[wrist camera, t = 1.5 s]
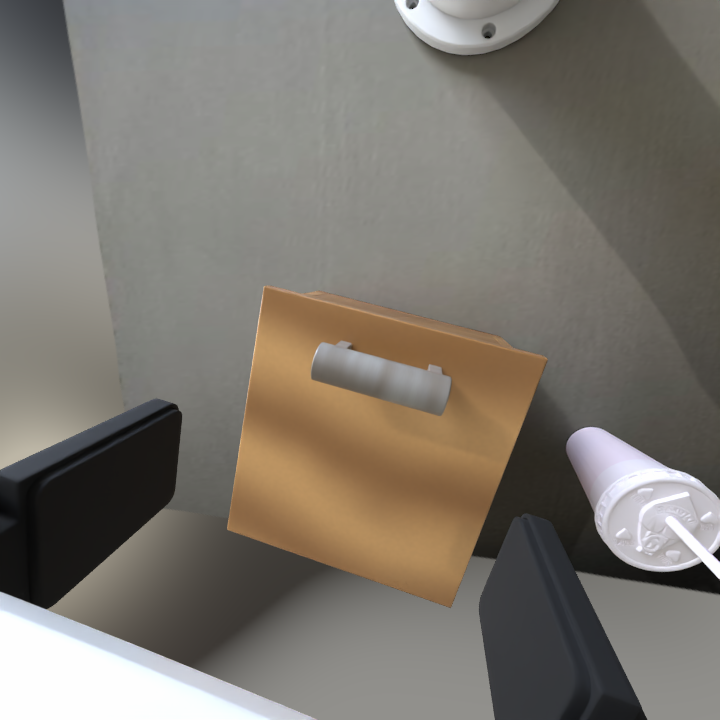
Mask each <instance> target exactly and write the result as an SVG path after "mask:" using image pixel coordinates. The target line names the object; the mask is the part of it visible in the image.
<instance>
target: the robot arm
mask: <svg viewBox="0 0 720 720" xmlns="http://www.w3.org/2000/svg"><path fill="white" fill-rule="evenodd" d="M394 2H395V5H396V8H397V10H398V11H399V13H400V15H401V16H402V18H403V20H404V21H405V23H406V25H407V26H408V27H409V28H410V29H411V30H412V31H413V32H414V33H415V34H416V36H417V37H419V38H420V39H421V40H423V41H424V42H426V43H427V44H429V45H430V46H432V47H434V48H437V49H439V50H442V51H444V52H447V53H452V54H459V55H474V54H484V53H487V52H491V51H494V50H497V49H501V48H503V47H505V46H507V45H509V44H511V43H513V42H515V41H517V40H519V39H520V38H522V37H523V36H524V35H526V34H527V33H528V32H530V31H531V30H532V29H534V28H535V27H536V26H537V25H538V24H539V23H540V22H541V21H542V20H543V19H544V18H545V17H546V16H547V15H548V14H549V13H550V12H551V11H552V10H553V9H554V7H555V6H556V4H557V3H558V2H559V0H394ZM412 7H415V8H414V9H411V8H412ZM485 36H490V38H489V39H486V38H484V37H485ZM181 423H182V413H181V412H180V411H179V409H178V406H177V405H176V404H173V403H170V402H167V401H164V400H160V399H153V400H150V401H148V402H146V403H144V404H142V405H140V406H137V407H135V408H133V409H131V410H129V411H127V412H124V413H122V414H120V415H118V416H116V417H114V418H112V419H109V420H107V421H105V422H103V423H101V424H98V425H96V426H94V427H92V428H90V429H88V430H85V431H83V432H81V433H79V434H77V435H75V436H73V437H70V438H68V439H66V440H64V441H62V442H59V443H57V444H55V445H53V446H51V447H49V448H46V449H44V450H42V451H40V452H38V453H36V454H33V455H31V456H29V457H27V458H25V459H23V460H21V461H18V462H16V463H14V464H12V465H10V466H8V467H5V468H3V469H1V470H0V720H317V719H315V718H313V717H310V716H308V715H305V714H303V713H301V712H298V711H296V710H293V709H290V708H288V707H286V706H283V705H281V704H279V703H276V702H274V701H271V700H269V699H266V698H264V697H261V696H259V695H256V694H254V693H252V692H249V691H247V690H244V689H242V688H239V687H237V686H234V685H232V684H229V683H227V682H225V681H222V680H220V679H217V678H215V677H212V676H210V675H208V674H205V673H203V672H200V671H198V670H195V669H193V668H190V667H188V666H185V665H183V664H181V663H178V662H175V661H173V660H171V659H168V658H166V657H163V656H161V655H158V654H156V653H153V652H151V651H148V650H146V649H143V648H141V647H139V646H136V645H134V644H131V643H129V642H126V641H123V640H121V639H119V638H116V637H114V636H111V635H109V634H106V633H104V632H101V631H98V630H96V629H94V628H91V627H89V626H86V625H84V624H81V623H79V622H76V621H74V620H71V619H69V618H66V617H64V616H61V615H58V614H56V613H54V612H51V611H48V610H46V609H48V608H50V607H51V606H53V605H54V604H56V603H57V602H58V601H59V600H60V599H61V598H62V597H64V595H66V594H67V593H68V592H69V591H70V590H71V589H72V588H74V587H75V586H76V585H77V584H78V583H79V582H80V581H82V580H83V579H84V578H85V577H86V576H87V575H88V574H89V573H90V572H92V571H93V570H94V569H95V568H96V567H97V566H98V565H99V564H101V563H102V562H103V561H104V560H105V559H106V558H107V557H109V556H110V555H111V554H112V553H113V552H114V551H115V550H116V549H118V548H119V547H120V546H121V545H122V544H123V543H124V542H125V541H127V540H128V539H129V538H130V537H131V536H132V535H133V534H134V533H136V532H137V531H138V530H139V529H140V528H141V527H142V526H143V525H144V524H146V523H147V522H148V521H149V520H150V519H151V518H152V517H154V516H155V515H156V514H157V513H158V512H159V511H160V510H162V509H163V508H164V507H165V506H166V505H167V504H168V503H169V502H170V500H171V499H172V497H173V495H174V492H175V485H176V474H177V464H178V454H179V444H180V434H181ZM479 615H480V622H481V629H482V635H483V642H484V649H485V655H486V662H487V669H488V676H489V683H490V689H491V696H492V702H493V709H494V716H495V720H647V718H646V716H645V714H644V712H643V710H642V707H641V705H640V703H639V700H638V698H637V696H636V695H635V692H634V690H633V688H632V686H631V684H630V682H629V680H628V678H627V676H626V674H625V672H624V670H623V668H622V666H621V664H620V662H619V660H618V658H617V656H616V654H615V652H614V650H613V648H612V646H611V644H610V641H609V639H608V637H607V636H606V633H605V631H604V629H603V627H602V625H601V623H600V621H599V619H598V617H597V615H596V613H595V611H594V609H593V607H592V605H591V603H590V601H589V598H588V597H587V594H586V592H585V590H584V588H583V586H582V584H581V582H580V580H579V578H578V576H577V574H576V572H575V570H574V568H573V566H572V564H571V562H570V560H569V558H568V556H567V554H566V552H565V549H564V547H563V545H562V543H561V541H560V539H559V537H558V535H557V533H556V531H555V529H554V527H553V525H552V523H551V522H550V521H549V520H546V519H543V518H539V517H536V516H533V515H530V514H527V513H525V514H523V515H522V516H521V518H520V517H515V518H514V519H513V521H512V523H511V526H510V528H509V530H508V533H507V535H506V537H505V540H504V542H503V545H502V547H501V549H500V552H499V554H498V556H497V559H496V561H495V564H494V566H493V568H492V571H491V573H490V576H489V578H488V580H487V583H486V585H485V587H484V590H483V592H482V595H481V597H480V602H479Z"/></svg>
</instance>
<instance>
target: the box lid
mask: <svg viewBox="0 0 720 720" xmlns="http://www.w3.org/2000/svg"><path fill="white" fill-rule="evenodd" d="M546 363H547V358H545V357H544V356H543V355H539V354H535V353H531V352H527V351H523V350H519V349H515V348H511V347H508V346H504V345H500V344H496V343H492V342H488V341H484V340H480V339H476V338H472V337H469V336H465V335H461V334H457V333H453V332H449V331H445V330H441V329H437V328H433V327H430V326H426V325H422V324H418V323H414V322H410V321H406V320H402V319H398V318H394V317H391V316H387V315H383V314H379V313H375V312H371V311H367V310H363V309H359V308H355V307H352V306H348V305H344V304H340V303H336V302H332V301H328V300H324V299H320V298H316V297H313V296H309V295H305V294H301V293H297V292H293V291H289V290H285V289H281V288H277V287H274V286H264V290H263V296H262V303H261V310H260V316H259V323H258V329H257V336H256V343H255V349H254V356H253V363H252V369H251V376H250V382H249V389H248V396H247V402H246V409H245V415H244V422H243V429H242V435H241V442H240V448H239V455H238V462H237V468H236V475H235V481H234V488H233V495H232V501H231V508H230V514H229V521H228V528H227V529H228V530H229V531H232V532H235V533H238V534H241V535H244V536H247V537H250V538H252V539H255V540H258V541H261V542H264V543H267V544H269V545H272V546H275V547H278V548H281V549H284V550H287V551H290V552H292V553H295V554H298V555H301V556H304V557H307V558H309V559H312V560H316V561H318V562H321V563H324V564H327V565H329V566H332V567H335V568H338V569H341V570H344V571H347V572H349V573H353V574H355V575H358V576H361V577H364V578H367V579H370V580H372V581H375V582H378V583H381V584H384V585H387V586H390V587H392V588H395V589H398V590H401V591H404V592H406V593H409V594H412V595H415V596H418V597H421V598H424V599H427V600H430V601H432V602H435V603H438V604H441V605H444V606H446V607H449V608H451V606H452V604H453V601H454V599H455V596H456V593H457V591H458V588H459V586H460V583H461V581H462V578H463V576H464V573H465V570H466V568H467V565H468V563H469V560H470V558H471V555H472V553H473V550H474V547H475V545H476V542H477V540H478V537H479V535H480V532H481V529H482V527H483V524H484V522H485V519H486V517H487V514H488V512H489V509H490V506H491V504H492V501H493V499H494V496H495V494H496V491H497V488H498V486H499V483H500V481H501V478H502V476H503V473H504V471H505V468H506V465H507V463H508V460H509V458H510V455H511V453H512V450H513V448H514V445H515V442H516V440H517V437H518V435H519V432H520V430H521V427H522V424H523V422H524V419H525V417H526V414H527V412H528V409H529V407H530V404H531V401H532V399H533V396H534V394H535V391H536V389H537V386H538V383H539V381H540V378H541V376H542V373H543V371H544V368H545V366H546Z"/></svg>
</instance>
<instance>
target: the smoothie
mask: <svg viewBox="0 0 720 720" xmlns="http://www.w3.org/2000/svg"><path fill="white" fill-rule="evenodd" d="M566 453H567V455H568V458H569V460H570V462H571V464H572V466H573V468H574V470H575V472H576V474H577V476H578V479H579V481H580V483H581V485H582V487H583V489H584V491H585V493H586V495H587V497H588V500H589V502H590V504H591V506H592V508H593V511H594V513H595V517H594V519H595V524H596V528H597V531H598V533H599V534H600V536H601V538H602V540H603V541H604V542H605V543H606V544H607V545H608V547H609V548H610V549H611V551H612V552H613V553H614V554H615V555H616V556H617V557H619V558H620V559H621V560H623V561H624V562H626V563H628V564H630V565H632V566H635V567H637V568H640V569H644V570H649V571H657V572H669V571H677V570H682V569H686V568H689V567H692V566H694V565H696V564H699V563H701V562H702V561H703V563H704V564H705V565H706V566H707V567H708V568H709V569H710V570H711V571H712V572H713V573H714V574H715V575H716V576H717V577H718V578H719V579H720V562H719V561H718V560H717V559H716V558H715V557H714V556H713V555H712V554H713V553H714V552H715V551H716V550H717V549H718V548H719V546H720V500H719V498H718V497H717V496H716V495H715V494H714V493H713V492H712V491H711V490H709V489H708V488H707V487H706V486H705V485H704V484H703V483H702V482H700V481H699V480H698V479H696V478H694V477H692V476H690V475H688V474H687V473H684V472H680V471H676V470H673V469H670V468H668V467H666V466H664V465H663V464H661V463H659V462H657V461H656V460H654V459H652V458H651V457H649V456H647V455H646V454H644V453H642V452H640V451H639V450H637V449H635V448H634V447H632V446H630V445H629V444H627V443H625V442H624V441H622V440H620V439H618V438H617V437H615V436H613V435H612V434H610V433H608V432H607V431H605V430H603V429H600V428H596V427H587V428H583V429H580V430H578V431H576V432H575V433H573V434H572V435H571V436H570V438H569V439H568V441H567V444H566Z"/></svg>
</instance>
